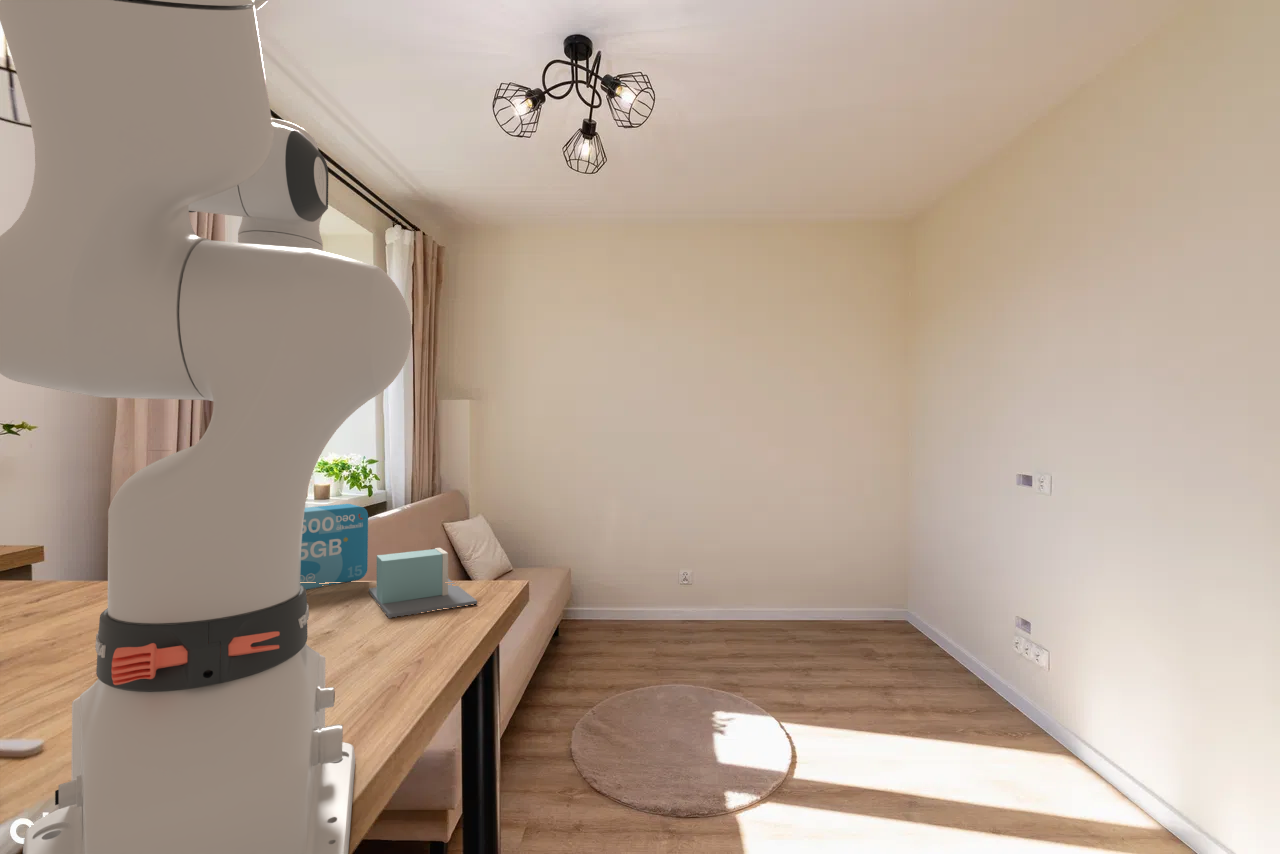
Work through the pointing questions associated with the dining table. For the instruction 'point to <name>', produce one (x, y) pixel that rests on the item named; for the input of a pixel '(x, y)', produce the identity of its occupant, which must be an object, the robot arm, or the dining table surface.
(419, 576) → the tea tin
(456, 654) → the dining table surface
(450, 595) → the felt mat
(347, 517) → the data package
